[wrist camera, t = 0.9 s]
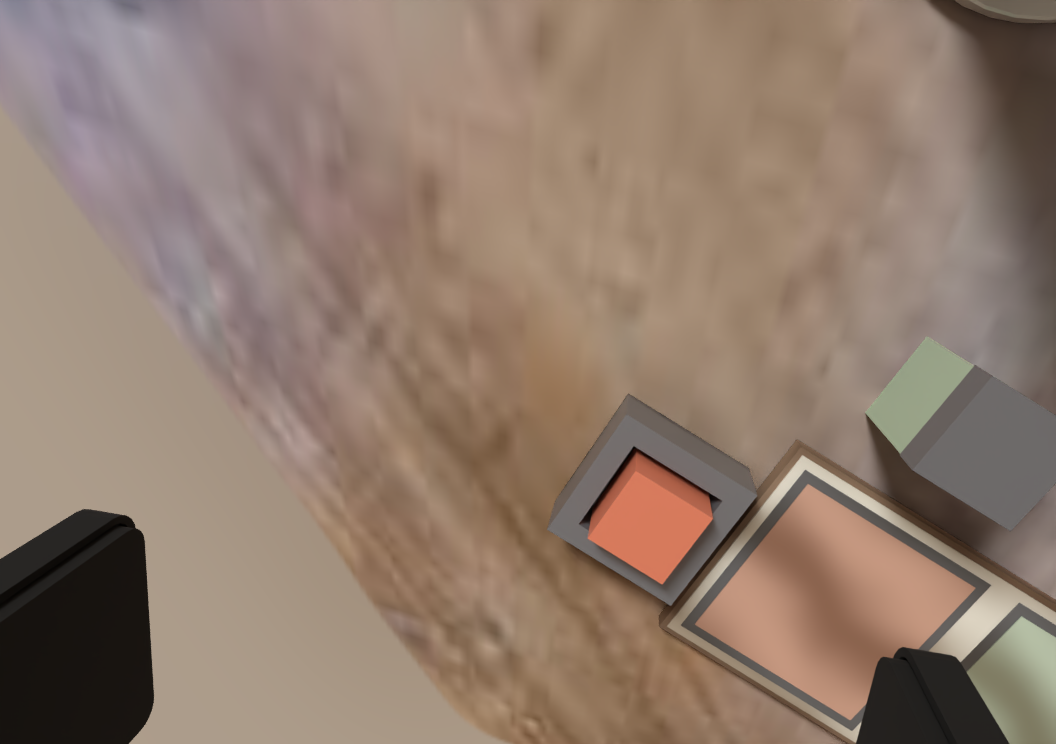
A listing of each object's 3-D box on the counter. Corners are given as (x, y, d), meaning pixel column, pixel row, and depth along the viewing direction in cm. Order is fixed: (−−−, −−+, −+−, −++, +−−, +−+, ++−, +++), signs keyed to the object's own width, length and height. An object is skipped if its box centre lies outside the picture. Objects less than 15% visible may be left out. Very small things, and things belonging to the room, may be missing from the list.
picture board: (796, 439, 37) (801, 448, 36) (1214, 698, 37) (1232, 715, 36) (658, 615, 40) (659, 629, 39) (1039, 850, 41) (1051, 870, 40)
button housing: (628, 393, 38) (626, 414, 34) (748, 468, 38) (757, 495, 35) (555, 501, 40) (547, 529, 37) (669, 571, 40) (670, 605, 37)
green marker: (926, 334, 35) (992, 376, 28) (1010, 386, 35) (1095, 440, 28) (863, 413, 36) (911, 470, 29) (944, 462, 36) (1010, 531, 29)
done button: (636, 444, 36) (635, 470, 33) (707, 488, 36) (712, 518, 33) (592, 507, 38) (587, 538, 35) (661, 550, 38) (662, 584, 35)
